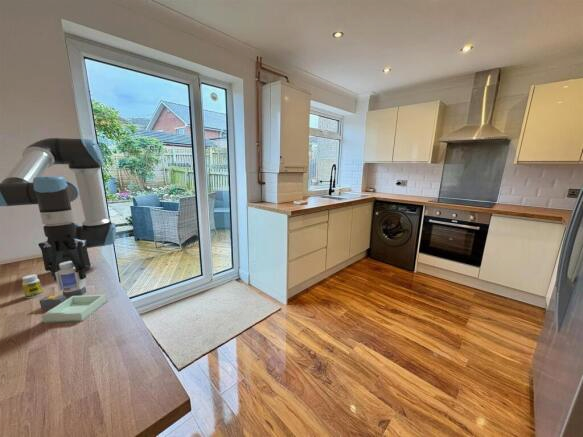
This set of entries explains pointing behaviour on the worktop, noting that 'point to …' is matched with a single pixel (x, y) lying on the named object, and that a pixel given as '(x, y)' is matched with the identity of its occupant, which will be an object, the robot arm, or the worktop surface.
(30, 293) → the supplement bottle
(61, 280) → the pill bottle
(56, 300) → the block
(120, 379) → the worktop surface
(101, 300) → the tray
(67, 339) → the worktop surface
